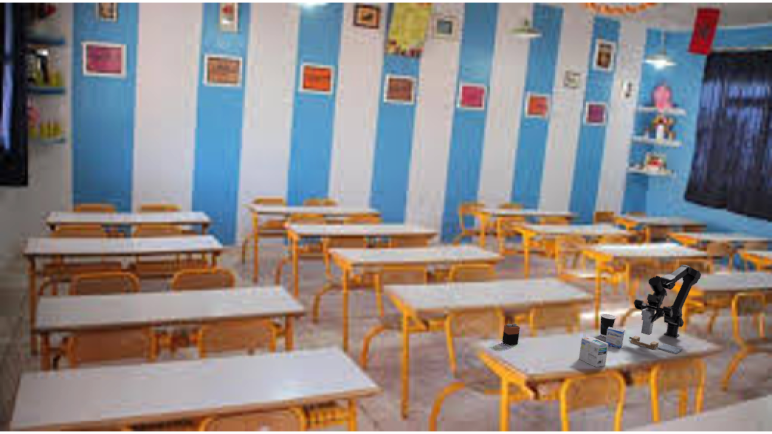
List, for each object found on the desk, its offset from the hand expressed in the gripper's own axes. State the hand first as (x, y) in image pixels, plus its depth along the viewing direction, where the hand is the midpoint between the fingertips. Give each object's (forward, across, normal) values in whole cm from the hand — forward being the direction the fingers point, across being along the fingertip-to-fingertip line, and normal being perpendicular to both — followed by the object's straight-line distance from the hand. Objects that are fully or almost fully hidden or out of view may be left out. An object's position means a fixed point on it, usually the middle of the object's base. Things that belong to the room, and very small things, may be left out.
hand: (647, 321), depth 336 cm
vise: (+8, -1, +10) cm, 13 cm away
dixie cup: (+12, -19, +6) cm, 23 cm away
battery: (+51, -45, -33) cm, 75 cm away
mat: (+5, +12, +13) cm, 18 cm away
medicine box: (+20, -10, -1) cm, 22 cm away
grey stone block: (+5, 0, +4) cm, 7 cm away
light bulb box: (+43, -7, -25) cm, 50 cm away
